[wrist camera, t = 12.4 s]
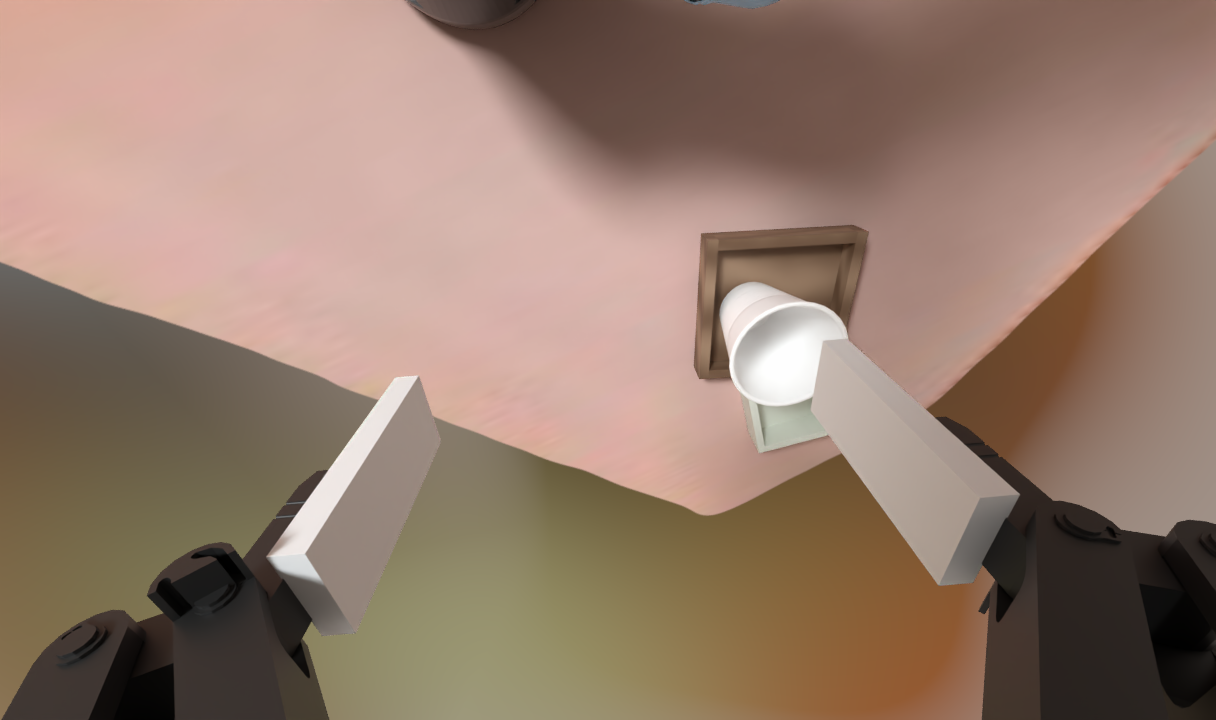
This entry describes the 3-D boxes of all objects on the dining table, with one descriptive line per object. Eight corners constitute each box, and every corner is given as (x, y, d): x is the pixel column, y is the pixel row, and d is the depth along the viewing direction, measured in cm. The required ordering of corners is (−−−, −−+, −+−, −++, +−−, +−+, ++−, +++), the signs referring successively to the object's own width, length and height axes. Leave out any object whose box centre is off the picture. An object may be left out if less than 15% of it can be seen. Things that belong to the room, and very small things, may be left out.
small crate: (736, 373, 51) (747, 392, 48) (814, 351, 50) (831, 369, 47) (748, 432, 56) (758, 453, 52) (820, 412, 55) (836, 433, 51)
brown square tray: (701, 233, 44) (707, 240, 41) (853, 225, 44) (868, 231, 41) (693, 366, 51) (699, 379, 48) (824, 358, 51) (836, 370, 49)
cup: (796, 254, 44) (855, 292, 34) (793, 342, 49) (844, 397, 39) (697, 271, 45) (727, 314, 35) (703, 357, 49) (731, 415, 40)
